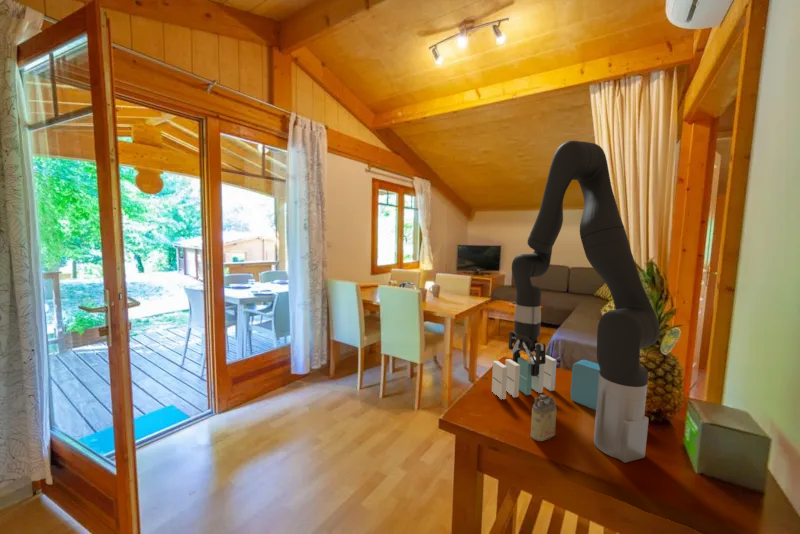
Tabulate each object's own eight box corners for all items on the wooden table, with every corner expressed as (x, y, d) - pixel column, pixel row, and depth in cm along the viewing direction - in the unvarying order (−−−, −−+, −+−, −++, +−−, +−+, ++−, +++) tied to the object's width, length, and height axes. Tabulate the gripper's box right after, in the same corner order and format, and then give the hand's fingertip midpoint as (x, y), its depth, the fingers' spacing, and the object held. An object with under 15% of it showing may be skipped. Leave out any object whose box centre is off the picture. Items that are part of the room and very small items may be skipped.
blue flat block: (620, 412, 94) (624, 371, 93) (614, 418, 92) (618, 375, 90) (576, 395, 104) (579, 358, 102) (569, 400, 101) (572, 361, 99)
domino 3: (526, 395, 103) (528, 364, 102) (516, 387, 108) (517, 357, 107) (530, 394, 104) (532, 363, 103) (520, 387, 109) (522, 357, 107)
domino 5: (543, 383, 111) (545, 354, 110) (554, 390, 107) (556, 360, 106) (539, 384, 111) (541, 354, 110) (550, 391, 106) (552, 360, 105)
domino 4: (532, 385, 110) (533, 355, 109) (542, 392, 105) (544, 361, 104) (527, 386, 110) (529, 356, 108) (538, 393, 105) (540, 362, 104)
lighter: (546, 427, 87) (548, 390, 86) (559, 435, 84) (562, 397, 83) (527, 435, 84) (529, 397, 82) (540, 444, 80) (542, 404, 79)
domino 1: (496, 391, 106) (497, 360, 105) (505, 398, 101) (507, 366, 100) (491, 391, 105) (492, 361, 104) (501, 399, 101) (502, 367, 99)
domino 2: (508, 389, 107) (509, 358, 106) (518, 396, 103) (520, 365, 101) (503, 389, 107) (505, 359, 106) (513, 397, 102) (515, 365, 101)
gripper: (503, 314, 109) (501, 362, 111) (533, 326, 95) (530, 381, 97) (522, 312, 111) (520, 360, 113) (554, 324, 98) (551, 378, 99)
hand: (525, 370), depth 105 cm, fingers open, 8 cm apart
